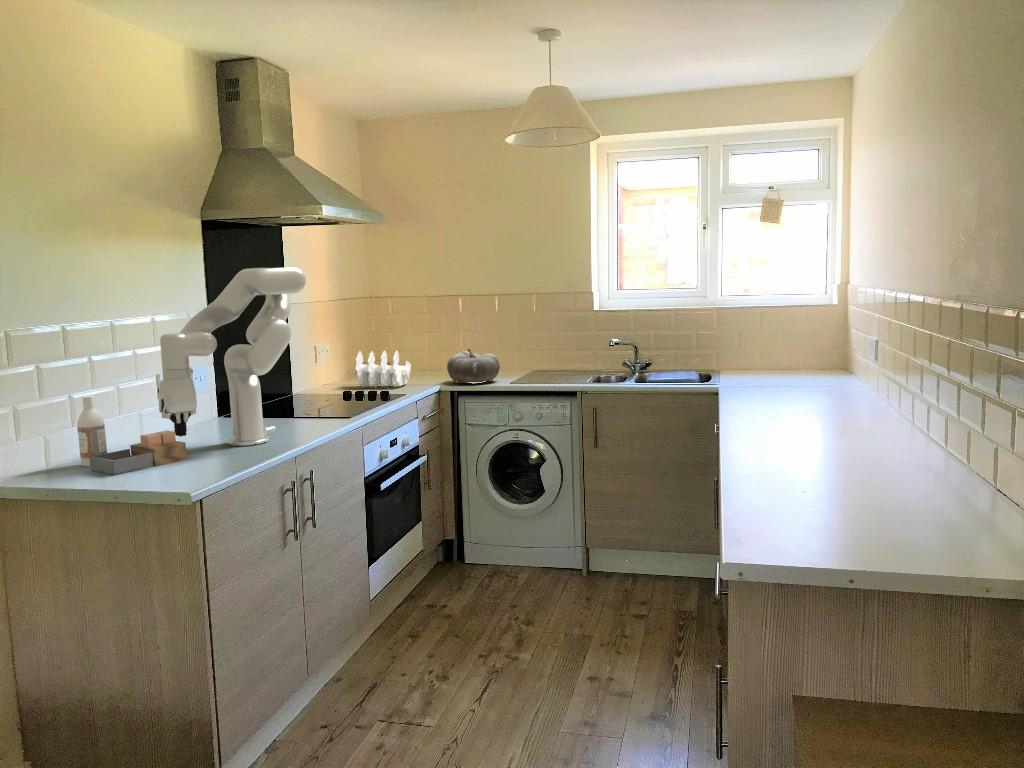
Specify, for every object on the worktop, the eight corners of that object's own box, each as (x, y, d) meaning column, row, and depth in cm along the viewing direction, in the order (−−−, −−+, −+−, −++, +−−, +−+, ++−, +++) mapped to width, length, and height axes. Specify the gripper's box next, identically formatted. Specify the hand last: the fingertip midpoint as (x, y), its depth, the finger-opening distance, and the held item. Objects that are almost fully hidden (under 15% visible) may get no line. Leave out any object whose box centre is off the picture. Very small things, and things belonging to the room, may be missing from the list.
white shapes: (405, 396, 379) (354, 394, 383) (414, 376, 394) (365, 374, 397) (401, 363, 369) (348, 361, 373) (410, 344, 384) (359, 342, 387)
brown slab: (163, 455, 243) (161, 438, 242) (186, 459, 236) (185, 442, 235) (131, 461, 235) (130, 445, 234) (155, 466, 228) (153, 448, 227)
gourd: (454, 374, 406) (458, 340, 402) (502, 382, 402) (506, 348, 397) (440, 385, 383) (443, 350, 378) (490, 394, 378) (494, 359, 374)
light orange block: (153, 443, 236) (153, 433, 235) (161, 444, 233) (160, 434, 233) (141, 445, 232) (140, 435, 232) (148, 447, 230) (148, 436, 230)
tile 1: (168, 440, 239) (167, 430, 239) (175, 441, 237) (175, 431, 237) (155, 442, 236) (154, 432, 236) (163, 444, 234) (162, 434, 233)
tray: (130, 462, 234) (128, 448, 234) (153, 466, 227) (152, 452, 227) (91, 470, 225) (89, 456, 224) (114, 475, 218) (112, 461, 217)
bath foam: (76, 465, 231) (69, 397, 229) (98, 460, 238) (91, 394, 235) (91, 468, 228) (84, 398, 226) (113, 462, 234) (106, 395, 232)
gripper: (191, 371, 247) (195, 430, 249) (145, 377, 234) (150, 438, 237) (206, 372, 242) (210, 432, 245) (160, 378, 230) (165, 441, 232)
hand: (181, 435), depth 241 cm, fingers closed
